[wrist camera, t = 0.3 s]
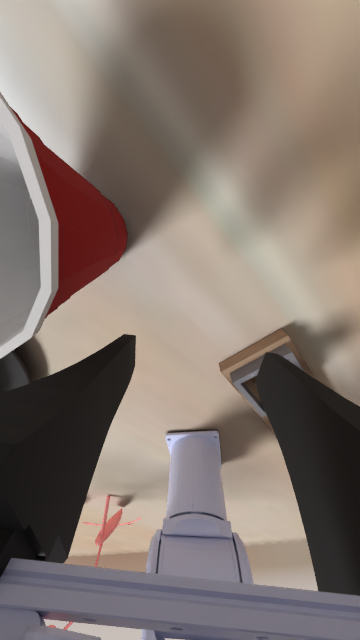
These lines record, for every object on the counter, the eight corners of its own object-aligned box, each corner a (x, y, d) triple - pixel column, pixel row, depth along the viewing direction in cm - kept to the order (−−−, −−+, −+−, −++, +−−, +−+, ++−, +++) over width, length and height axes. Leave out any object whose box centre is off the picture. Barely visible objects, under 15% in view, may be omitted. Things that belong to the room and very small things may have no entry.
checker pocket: (310, 382, 21) (318, 393, 20) (257, 406, 23) (262, 417, 22) (284, 343, 19) (291, 352, 18) (229, 373, 21) (232, 382, 20)
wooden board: (351, 439, 27) (360, 449, 26) (298, 457, 30) (303, 467, 28) (281, 328, 20) (288, 335, 19) (218, 363, 22) (220, 372, 21)
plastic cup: (155, 150, 13) (-70, -210, 3) (157, 293, 18) (77, 379, 7) (23, 152, 15) (-488, -81, 4) (56, 286, 19) (-144, 348, 8)
